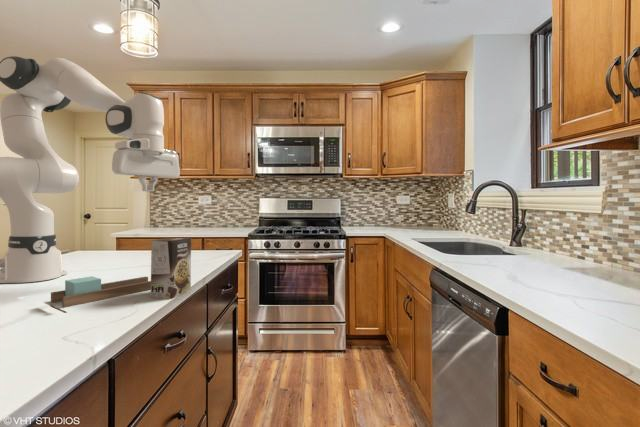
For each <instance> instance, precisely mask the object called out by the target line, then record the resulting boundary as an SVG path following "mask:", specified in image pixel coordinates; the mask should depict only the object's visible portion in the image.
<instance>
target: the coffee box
mask: <svg viewBox="0 0 640 427" xmlns="http://www.w3.org/2000/svg"><path fill="white" fill-rule="evenodd" d="M150 250H151V252H150V253H151V255H150V256H151V260H150V261H151V262H150V281H151V290H150V298H154V299H165V300H167V299H168V300H172V299H175V298H177V297H180V296H182V295H184V294H187V293H189V292H191V291H192V290H191V289H192V288H191V285H192V283H191V281H192V265H191V264H192V238H191V237H167V238H160V239H154V240H153V239H151V249H150Z"/></svg>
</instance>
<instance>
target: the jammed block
mask: <svg viewBox="0 0 640 427" xmlns="http://www.w3.org/2000/svg"><path fill="white" fill-rule="evenodd" d="M64 284H65V285H64V286H65V289H64V290H65V296H70V295H76V294H81V293H87V292H92V291H98V290H101V284H102V278H99V277H96V276H86V277H85V276H84V277H79V278H71V279H66V280H65V281H64Z"/></svg>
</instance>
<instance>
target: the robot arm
mask: <svg viewBox="0 0 640 427" xmlns="http://www.w3.org/2000/svg"><path fill="white" fill-rule="evenodd" d="M0 83H1V84H3V85H5V87H7V88H8V89H10V90H13V91H15V92H14V93H9V94H7V95H5V96H4V97H3V98H2V99H1V101H0V124H1V125H0V126H1V130H2V136H3V141H4V144H5V147H7V149H8V150H9V151H11V152H12V153H13V154H15V155H18V156H19V157H13V156H0V199H1V201H3V203H4V204H5V206H6V208H7V211H8V215H9V220H10V235H9V237H8V241H7V243H8V245H7V247H8V248H7V251H6V252H5V253H4V255H3V257H2V258H0V284H11V283H12V284H15V283H17V284H18V283H19V284H20V283H32V282H33V283H34V282H41V281H47V280H48V281H49V280H53V279H56V278H59V277H61V276H65V275H68V271H67V270H63V262H62V259H63V258H62V251H61V250H60V249H58V248H57V247H56V245H57V235H56V234H55V213H54V212H53V210H52V209H51V208H50V207H48V206H47V205H44V204H42V203H39V202H37V201H36V200H35V198H34V194H36V193H37V194H63V193H64V194H65V193H68V192H73V191H74V190H75V189H76V188H77V187H78V184H79V182H80V174H79V172H78V170H77V168H76V167H75V166H74V165H73V164H71V163H69V162H67V161H66V160H65V159H63V158H62V157H60V156H59V155H58V154H57V152H55V151H54V149H53V147H51V144H50V143H49V140H48V137H47V133H46V130H45V125H44V121H43V118H42V116H43V115H42V114H43V112H46V113H53V112H54V111H59V110H61V109H65V108H67V107H68V105H70V104H71V102H74V103H75V104H78V105H80V106H83V107H87V108H91V109H95V110H98V111H102V112H105V113H106V114H105V125H106V127H107V130H108V131H109V132H110V133H111V134H113V135H115V136H119V137H123V138H126V140H121V141H118V142H115V144H114V149H115V151H114V152H113V155H112V160H111V170H112V172H113V173H114V175H120V176H121V175H123V176H136V177H137V176H138V181H139V183H140V185H141V186H142V187H141V188H142V189H141V191H142V192H155V186H156V184H157V182H158V181H159V178H161V179H178V178H180V175H181V170H180V163H179V162H180V161H179V159H180V158H179V157H180V156H179V154H178V153H177V152H176V151H175V150H173V149H172V150H171V149H166V148H165V136H164V125H165V111H164V109H165V108H164V104H163V101H162V99H161V98H159V97H158V96H156V95H153V94H150V93H146V92H140V91H139V92H134V94H133V96H132V97H131V98H130V99H128V100H125V99H124V98H122V97H121V96H119V95H118V94H116V93H115V92H114V91H113V90H111V89H110V88H109V87H107V86H106V85H105V84H103V83H102V82H101V81H100V80H99V79H98V78H96V77H95V76H94V75H92V74H91V73H90V72H89V71H87V70H86V69H85V68H83V67H82V66H80V65H78V64H77V63H75V62H73V61H71V60H68V59H67V58H64V57H52V58H50V59H48V60H47V61H46V62H45V63H44V64H40V63H38V62H37V61H36V60H35V59H33V58H25V57H21V56H15V55H13V56H7V57H5V58H2V60H0ZM127 138H128V139H127ZM147 178H149V180H150V183H149V185H148V183H147V181H146V180H147Z"/></svg>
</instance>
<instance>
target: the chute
mask: <svg viewBox="0 0 640 427" xmlns="http://www.w3.org/2000/svg"><path fill="white" fill-rule="evenodd" d="M148 291H151V280H149V276H140V277H136V278H129V279H123V280H116V281H113V282H112V281H111V282H106V283H105V282H104V283H101V290H98V291H92V292H87V293H81V294H76V295H70V296H65V289H64V290H57V291H52V292H50V303H52V304H54V303H58V302H62V304H61V305H62V306H61V307H62V308H69V307H73V306H74V307H75V306H80V305H85V304H88V303H93V302H99V301H104V300H108V299H109V300H110V299H113V298H119V297H123V296H128V295H129V296H130V295H133V294H138V293H143V292H148ZM50 307H51V308H53V309H55V310H57V311H60V312H62V313H65V314H66V313H67V311H66V310H62V309H61V308H59V307H56V306H54V305H51V304H50Z"/></svg>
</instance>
